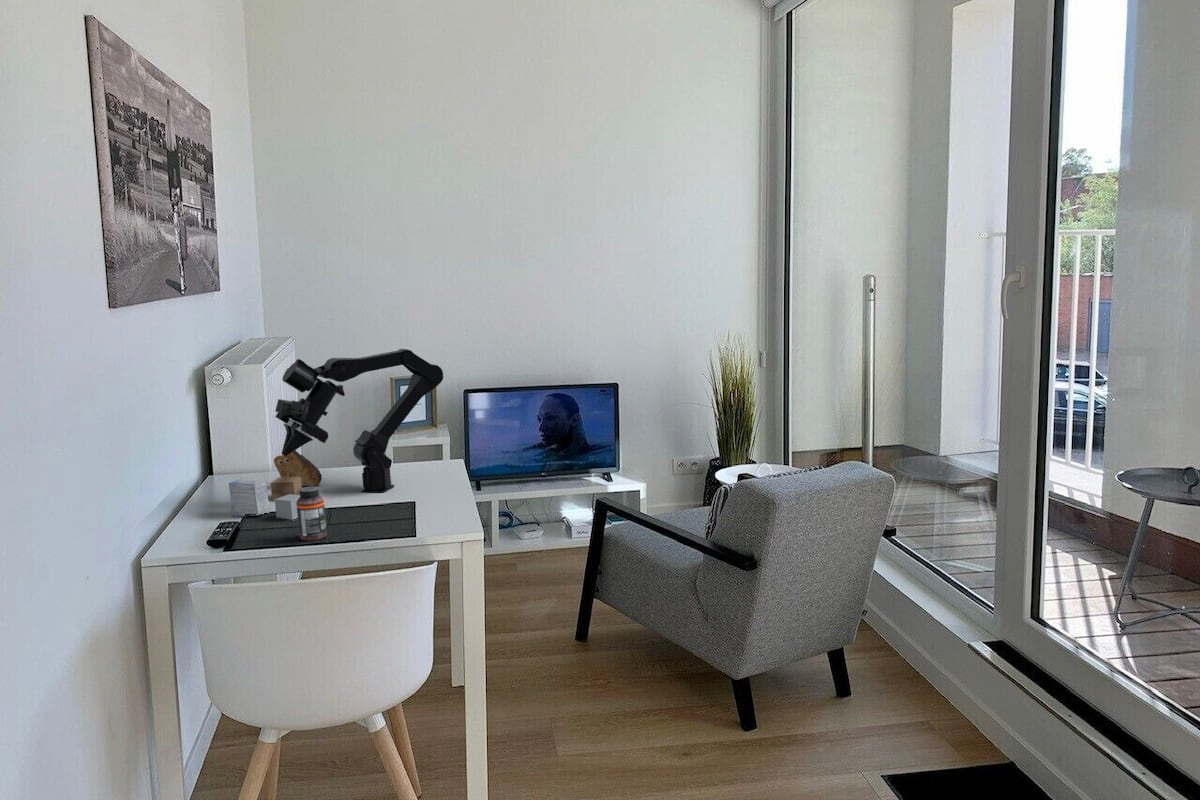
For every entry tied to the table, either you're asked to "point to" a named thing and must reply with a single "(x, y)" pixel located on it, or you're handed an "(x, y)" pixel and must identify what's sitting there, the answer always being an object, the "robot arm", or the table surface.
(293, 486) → the walnut block
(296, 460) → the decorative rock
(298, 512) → the supplement bottle
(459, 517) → the table surface
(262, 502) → the medicine box
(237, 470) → the table surface
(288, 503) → the slate-grey block
